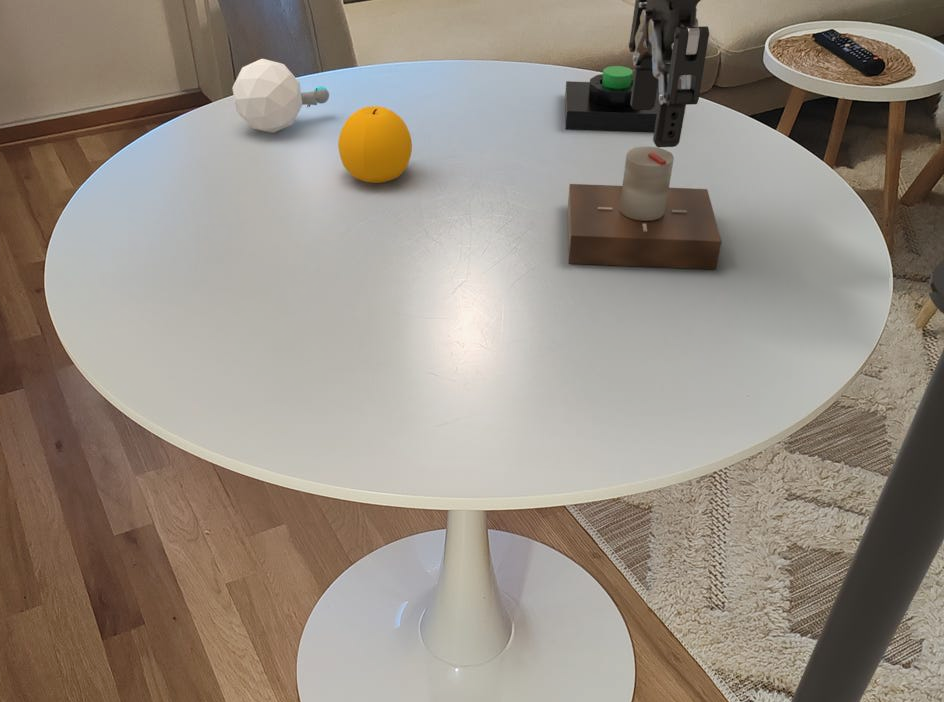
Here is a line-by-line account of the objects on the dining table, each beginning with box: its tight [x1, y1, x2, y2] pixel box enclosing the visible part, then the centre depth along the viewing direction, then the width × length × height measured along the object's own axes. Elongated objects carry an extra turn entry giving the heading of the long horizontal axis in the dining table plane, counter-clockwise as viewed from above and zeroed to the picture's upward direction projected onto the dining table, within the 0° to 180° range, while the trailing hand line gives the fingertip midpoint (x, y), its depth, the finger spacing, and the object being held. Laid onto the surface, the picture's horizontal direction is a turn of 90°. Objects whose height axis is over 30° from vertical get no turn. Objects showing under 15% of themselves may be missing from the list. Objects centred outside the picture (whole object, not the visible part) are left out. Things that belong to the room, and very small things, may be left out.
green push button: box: [602, 65, 634, 89], centre depth 113 cm, size 4×4×2 cm
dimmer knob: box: [620, 146, 675, 221], centre depth 88 cm, size 4×4×6 cm
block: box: [564, 73, 659, 133], centre depth 114 cm, size 12×10×4 cm
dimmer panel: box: [566, 183, 722, 271], centre depth 91 cm, size 14×11×3 cm
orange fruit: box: [337, 105, 413, 184], centre depth 100 cm, size 8×8×8 cm
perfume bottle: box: [232, 58, 330, 134], centre depth 110 cm, size 8×8×12 cm
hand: (653, 126), depth 84 cm, fingers open, 8 cm apart
